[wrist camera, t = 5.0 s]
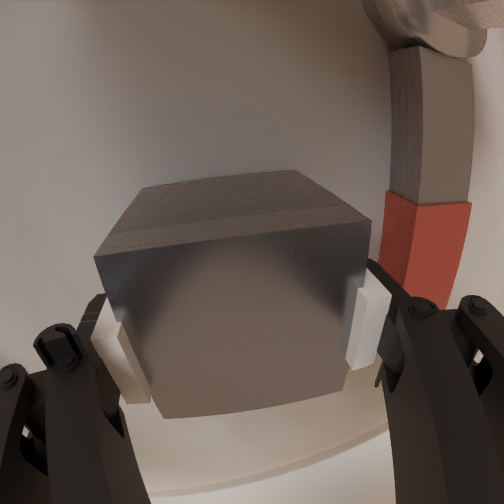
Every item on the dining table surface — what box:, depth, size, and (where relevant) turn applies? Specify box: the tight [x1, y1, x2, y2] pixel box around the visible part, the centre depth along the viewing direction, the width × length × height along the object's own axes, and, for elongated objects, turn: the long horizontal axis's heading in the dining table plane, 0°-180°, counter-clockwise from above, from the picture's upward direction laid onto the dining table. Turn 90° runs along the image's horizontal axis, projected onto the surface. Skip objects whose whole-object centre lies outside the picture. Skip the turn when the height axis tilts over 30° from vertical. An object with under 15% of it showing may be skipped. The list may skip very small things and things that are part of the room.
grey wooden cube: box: [93, 170, 372, 419], centre depth 10 cm, size 6×6×6 cm
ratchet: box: [361, 0, 504, 310], centre depth 9 cm, size 21×6×7 cm, turn 4°
